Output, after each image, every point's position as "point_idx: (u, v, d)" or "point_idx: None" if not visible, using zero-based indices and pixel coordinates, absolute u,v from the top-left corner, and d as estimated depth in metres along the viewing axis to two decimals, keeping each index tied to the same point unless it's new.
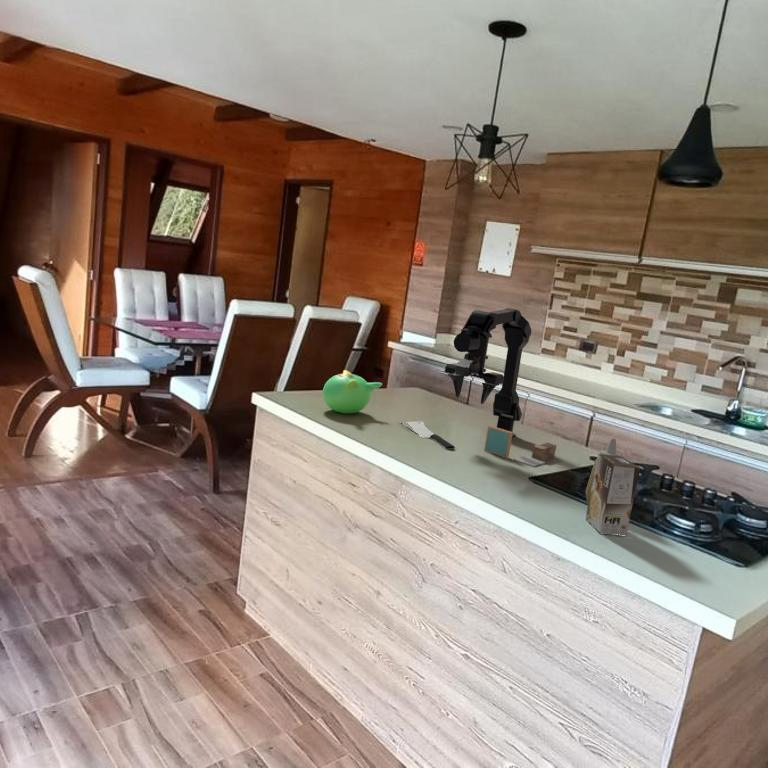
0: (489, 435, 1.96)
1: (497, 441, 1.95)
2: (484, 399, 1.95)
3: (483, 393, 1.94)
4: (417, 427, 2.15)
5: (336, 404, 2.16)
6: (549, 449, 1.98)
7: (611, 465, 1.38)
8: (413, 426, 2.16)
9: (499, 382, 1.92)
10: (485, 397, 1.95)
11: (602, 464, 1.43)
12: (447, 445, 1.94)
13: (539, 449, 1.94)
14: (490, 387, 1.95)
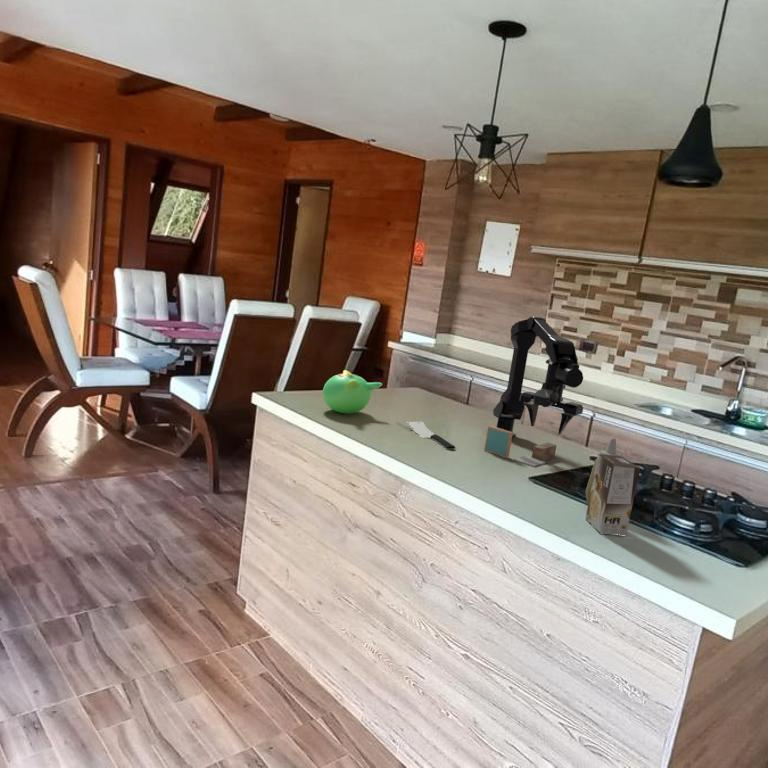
0: (489, 435, 1.96)
1: (497, 441, 1.95)
2: (562, 429, 1.93)
3: (561, 423, 1.92)
4: (417, 427, 2.14)
5: (336, 404, 2.16)
6: (549, 449, 1.98)
7: (611, 465, 1.38)
8: (413, 426, 2.16)
9: (579, 412, 1.89)
10: (563, 427, 1.93)
11: (602, 464, 1.43)
12: (448, 445, 1.94)
13: (539, 449, 1.94)
14: (568, 417, 1.92)
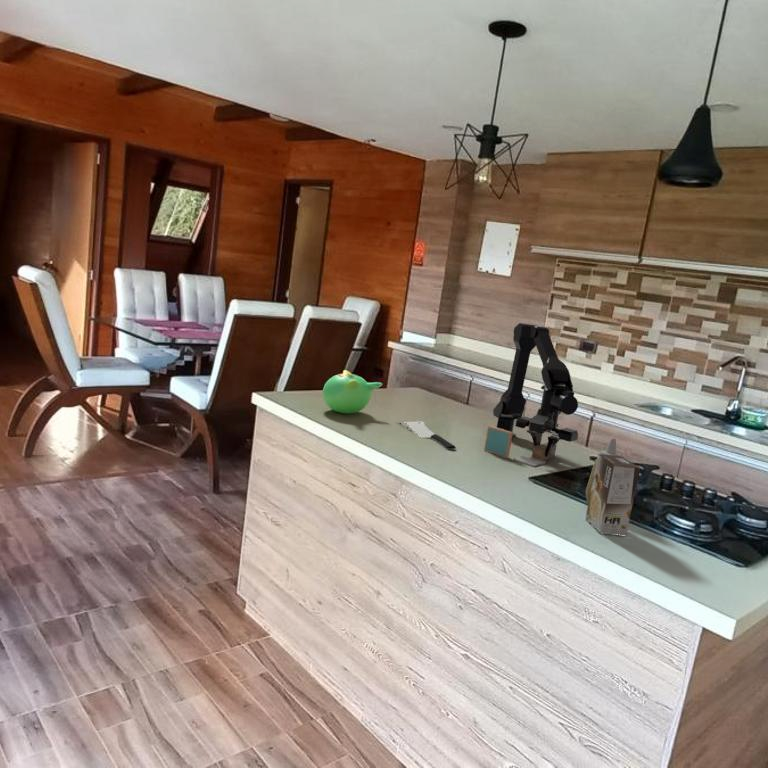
0: (489, 435, 1.96)
1: (497, 441, 1.95)
2: (549, 452, 1.96)
3: (548, 446, 1.95)
4: (417, 427, 2.14)
5: (336, 404, 2.16)
6: None
7: (611, 465, 1.38)
8: (413, 426, 2.15)
9: (574, 439, 1.91)
10: (550, 450, 1.96)
11: (602, 464, 1.43)
12: (448, 445, 1.94)
13: (539, 449, 1.94)
14: (555, 440, 1.96)
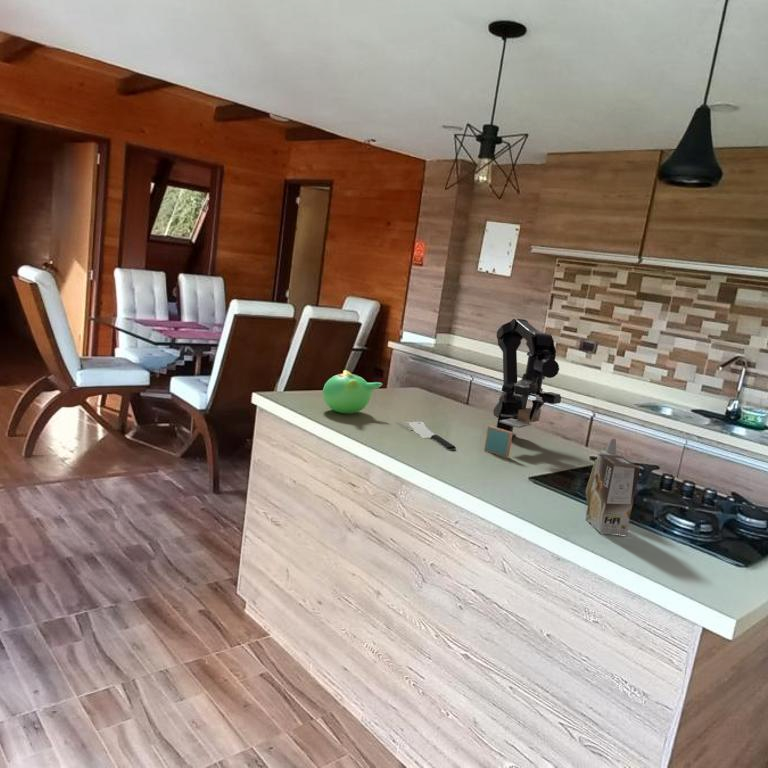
0: (489, 435, 1.96)
1: (497, 441, 1.95)
2: (533, 415, 2.05)
3: (532, 410, 2.04)
4: (417, 427, 2.14)
5: (336, 404, 2.16)
6: None
7: (611, 465, 1.38)
8: (413, 426, 2.15)
9: (557, 402, 2.00)
10: (534, 413, 2.05)
11: (602, 464, 1.43)
12: (448, 445, 1.94)
13: (524, 412, 2.04)
14: (539, 404, 2.05)
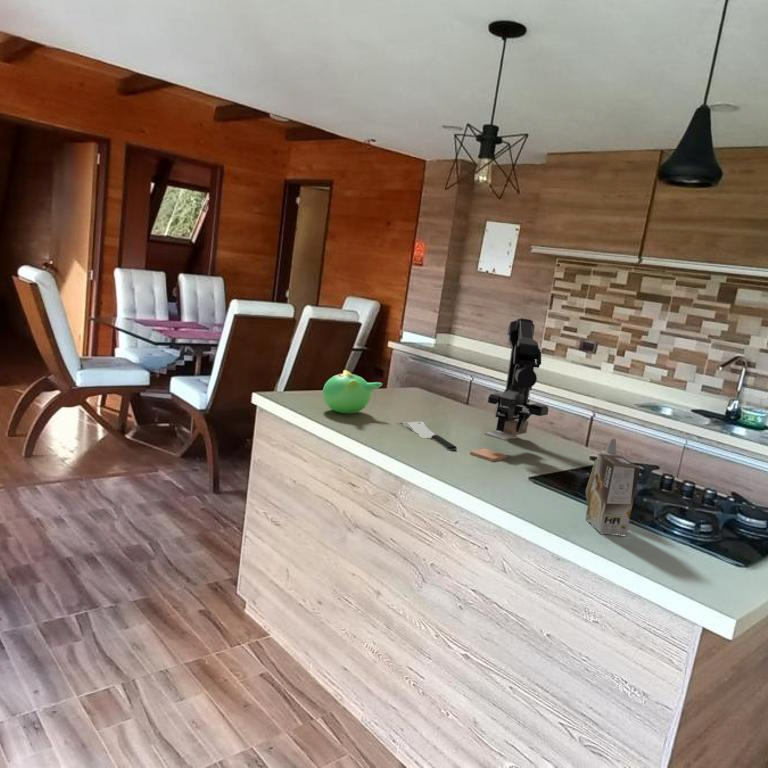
0: None
1: None
2: (520, 427, 2.00)
3: (519, 422, 1.98)
4: (418, 427, 2.14)
5: (336, 404, 2.16)
6: None
7: (611, 465, 1.38)
8: (414, 426, 2.15)
9: (544, 413, 1.94)
10: (521, 425, 1.99)
11: (602, 464, 1.43)
12: (449, 445, 1.94)
13: (510, 424, 1.98)
14: (526, 416, 1.99)
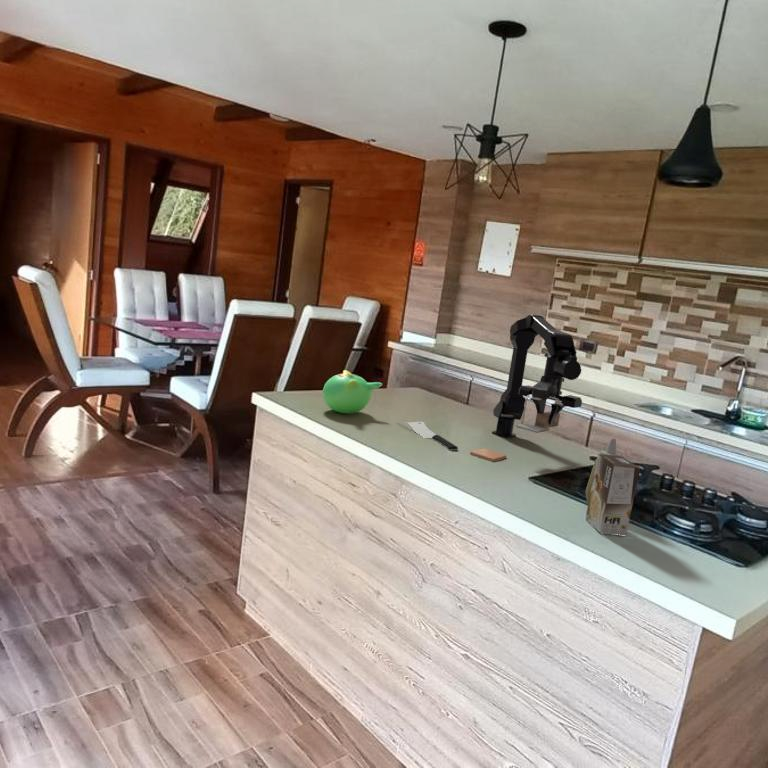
0: None
1: None
2: (552, 420, 1.94)
3: (551, 414, 1.93)
4: (418, 428, 2.14)
5: (336, 404, 2.16)
6: None
7: (611, 465, 1.38)
8: (414, 427, 2.15)
9: (577, 405, 1.89)
10: (553, 418, 1.94)
11: (602, 464, 1.43)
12: (450, 446, 1.94)
13: (542, 416, 1.93)
14: (558, 408, 1.94)
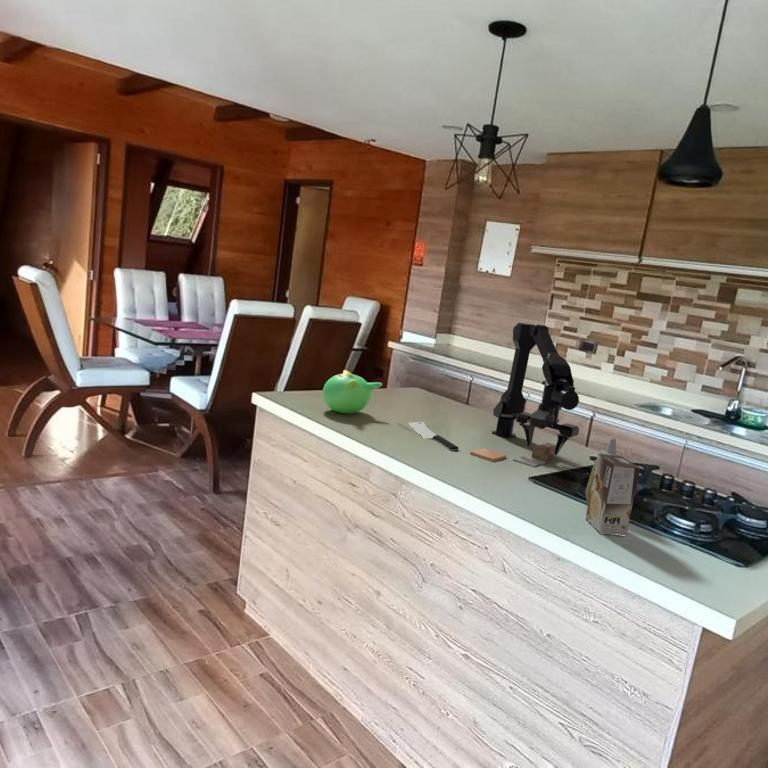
0: None
1: None
2: (558, 450, 1.94)
3: (558, 444, 1.93)
4: (418, 428, 2.14)
5: (336, 404, 2.16)
6: (549, 449, 1.98)
7: (611, 465, 1.38)
8: (414, 427, 2.15)
9: (575, 434, 1.90)
10: (559, 448, 1.94)
11: (602, 464, 1.43)
12: (451, 446, 1.93)
13: (539, 449, 1.94)
14: (564, 438, 1.94)
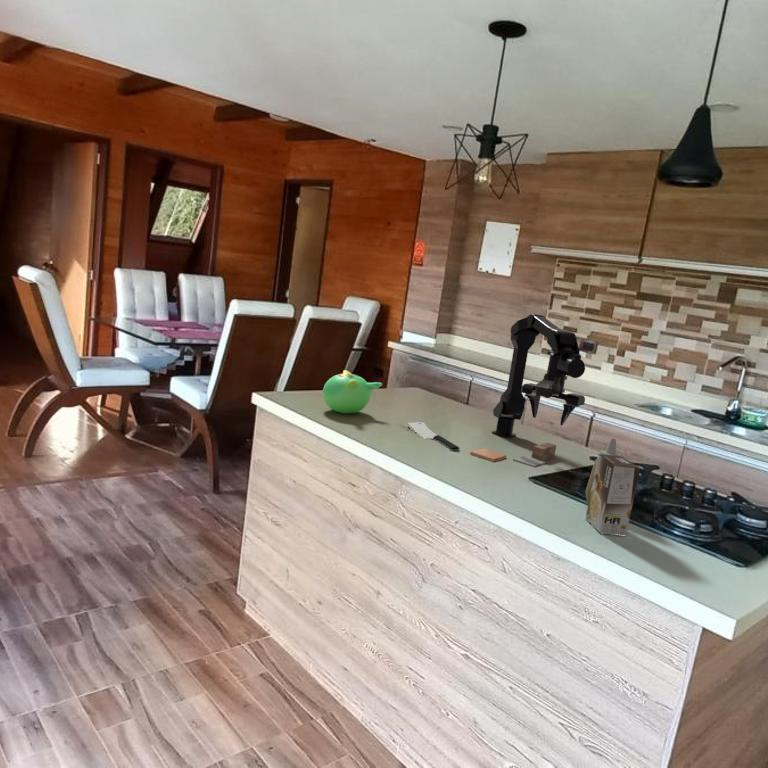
0: None
1: None
2: (564, 420, 1.92)
3: (563, 414, 1.91)
4: (419, 428, 2.14)
5: (336, 404, 2.16)
6: (549, 449, 1.98)
7: (611, 465, 1.38)
8: (415, 427, 2.15)
9: (581, 403, 1.89)
10: (565, 418, 1.92)
11: (602, 464, 1.43)
12: (452, 446, 1.93)
13: (539, 449, 1.94)
14: (570, 408, 1.92)
